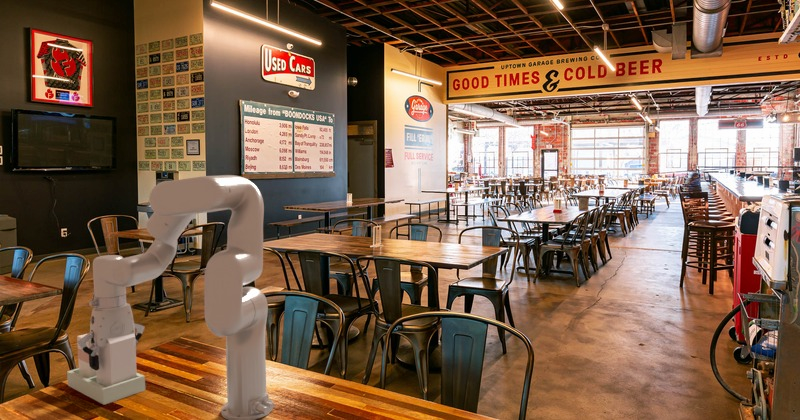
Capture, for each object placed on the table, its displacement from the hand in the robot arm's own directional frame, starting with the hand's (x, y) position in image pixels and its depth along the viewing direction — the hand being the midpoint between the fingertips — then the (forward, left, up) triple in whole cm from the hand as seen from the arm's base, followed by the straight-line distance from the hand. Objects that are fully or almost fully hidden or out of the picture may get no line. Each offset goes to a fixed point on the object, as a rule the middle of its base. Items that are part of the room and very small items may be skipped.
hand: (113, 363), depth 145 cm
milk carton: (0, 0, -8) cm, 8 cm away
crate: (+5, 0, -9) cm, 10 cm away
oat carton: (+10, 0, -8) cm, 13 cm away
